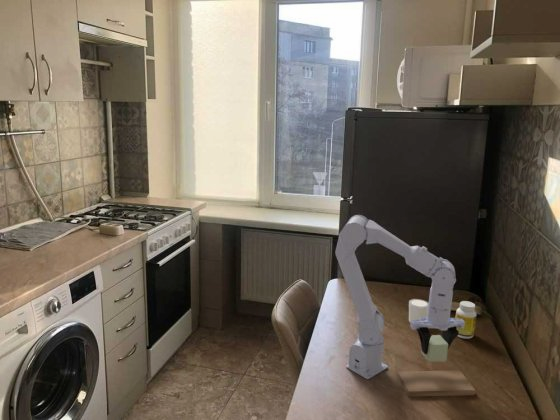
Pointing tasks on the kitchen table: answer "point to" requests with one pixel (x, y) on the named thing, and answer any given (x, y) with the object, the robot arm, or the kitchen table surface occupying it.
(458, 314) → the pill bottle
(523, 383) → the kitchen table surface
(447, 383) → the walnut board
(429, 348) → the sage cube
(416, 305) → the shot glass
